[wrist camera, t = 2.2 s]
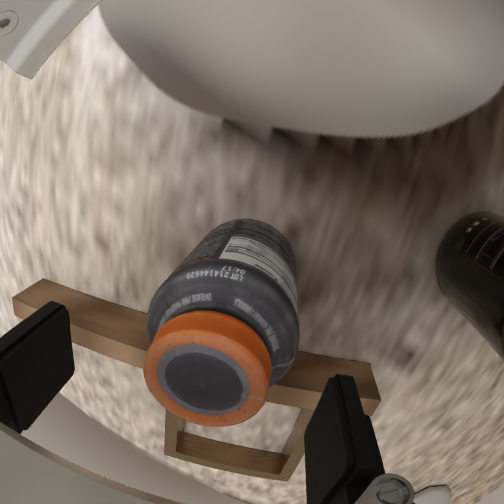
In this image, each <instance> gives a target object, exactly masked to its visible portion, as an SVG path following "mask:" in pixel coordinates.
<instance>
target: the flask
mask: <svg viewBox="0 0 504 504" xmlns="http://www.w3.org/2000/svg"><path fill="white" fill-rule="evenodd" d="M414 495H415V498H414V500H413V502H414V503H415V504H449V503H450V496H451V490H450V489H449V488H448V487H447V486H436V487H428V488H427V489H425V490H423V491H421V492H418V493H416V494H414Z"/></svg>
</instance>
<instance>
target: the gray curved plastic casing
mask: <svg viewBox="0 0 504 504" xmlns="http://www.w3.org/2000/svg"><path fill="white" fill-rule="evenodd" d="M101 1H102V0H0V60H2V61H3V62H5V63H6V64H7V65H8V66H9V67H10V68H12V69H13V70H14V71H15V72H16V73H18V74H20V75H22V76H25V77H27V78H30V79H32V78H33V77H34V75H35V74H36V73H37V71H38V70H39V69H40V67H41V66H42V65H43V64H44V62H45V61H46V60H47V59H48V57H49V56H50V55H51V54H52V53H53V51H54V50H55V49H56V48H57V47H58V45H59V44H60V43H61V42H62V41H63V40H64V39H65V37H66V36H67V35H68V34H69V33H70V32H71V31H72V30H73V29H74V28H75V27H76V25H77V24H78V23H79V22H80V21H81V20H82V19H83V18H84V17H85V16H86V15H87V14H88V13H89V12H90V11H91V10H92V9H93V8H94V7H95V6H96V5H97V4H98V3H100V2H101Z"/></svg>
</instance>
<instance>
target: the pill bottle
mask: <svg viewBox="0 0 504 504" xmlns="http://www.w3.org/2000/svg"><path fill="white" fill-rule="evenodd" d="M147 332H148V338H149V342H150V347H149V349H148V351H147V353H146V356H145V359H144V365H143V372H144V378H145V381H146V384H147V386H148V388H149V390H150V392H151V393H152V395H153V396H154V397H155V399H156V400H157V401H158V402H159V403H160V404H161V405H162V406H163V407H164V408H166V409H167V410H168V411H170V412H171V413H173V414H174V415H176V416H178V417H180V418H182V419H184V420H186V421H189V422H192V423H195V424H199V425H204V426H212V427H224V426H231V425H235V424H239V423H241V422H244V421H246V420H248V419H250V418H251V417H252V416H254V415H255V414H256V413H257V412H258V411H259V410H260V409H261V407H262V406H263V405H264V403H265V401H266V399H267V395H268V389H269V388H270V387H271V386H273V385H274V384H275V383H276V382H278V381H279V380H280V379H281V378H282V377H283V376H284V375H285V374H286V373H287V371H288V370H289V368H290V367H291V365H292V364H293V361H294V359H295V356H296V354H297V350H298V345H299V321H298V303H297V289H296V275H295V260H294V256H293V253H292V250H291V248H290V246H289V244H288V242H287V241H286V240H285V239H284V237H283V236H282V235H281V234H280V233H279V232H278V231H277V230H275V229H274V228H272V227H271V226H269V225H267V224H265V223H262V222H260V221H256V220H250V219H237V220H233V221H229V222H226V223H224V224H221V225H220V226H218V227H217V228H215V229H214V230H212V231H211V232H210V233H209V234H208V235H207V236H206V237H205V238H204V239H203V240H202V241H201V242H200V244H199V245H198V246H197V247H196V248H195V249H194V250H193V251H192V252H191V253H190V254H189V256H188V257H187V258H186V259H185V260H184V261H183V262H182V263H181V264H180V265H179V266H178V268H177V269H176V270H175V271H174V272H173V273H172V274H171V275H170V276H169V277H168V279H167V280H166V281H165V282H164V283H163V284H162V285H161V286H160V288H159V289H158V290H157V292H156V293H155V295H154V297H153V299H152V301H151V304H150V307H149V311H148V317H147Z"/></svg>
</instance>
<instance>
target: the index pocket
mask: <svg viewBox="0 0 504 504" xmlns="http://www.w3.org/2000/svg"><path fill="white" fill-rule="evenodd" d="M314 411H315V410H313V409H306V408H302V410H301V412H300V415H299V417H298V419H297V421H296V423H295V426H294V428H293V430H292V432H291V434H290V436H289V439H288V441H287V443H286V445H285V447H284V449H283V451H282V453H281V454H280V453H273V452H267V451H262V450H256V449H251V448H246V447H241V446H236V445H232V444H227V443H223V442H219V441H215V440H210V439H207V438H203V437H199V436H195V435H192V434H188V433H184V432H183V429H184V419H182V418H180V417H178V416H176V415H174V414H173V413H171V412H170V411H168V410H167V409H166V419H165V447H164V454H165V455H168V456H171V457H174V458H178V459H181V460H185V461H188V462H192V463H195V464H199V465H203V466H207V467H211V468H215V469H220V470H224V471H229V472H234V473H238V474H244V475H249V476H254V477H260V478H267V479H273V480H280V481H288V480H289V479H290V477H291V476H292V474H293V472H294V471H295V469H296V467H297V465H298V464H299V462H300V460H301V459H302V457H303V455H304V453H305V447H304V434H305V430H306V428H307V426H308V423H309V421H310V419H311V417H312V415H313V413H314Z"/></svg>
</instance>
